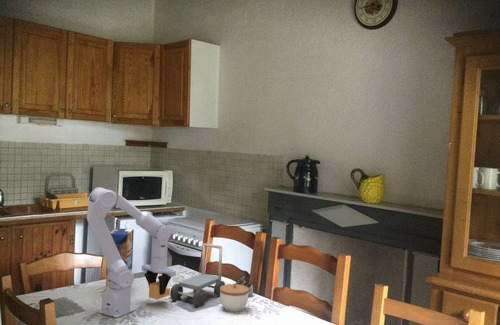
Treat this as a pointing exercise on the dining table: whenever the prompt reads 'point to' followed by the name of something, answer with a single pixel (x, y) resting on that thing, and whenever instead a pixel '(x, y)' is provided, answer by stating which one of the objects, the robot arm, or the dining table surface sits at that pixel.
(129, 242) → the juice carton
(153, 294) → the block
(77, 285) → the dining table surface
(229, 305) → the lidded jar
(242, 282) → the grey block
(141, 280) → the dining table surface
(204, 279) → the trolley
